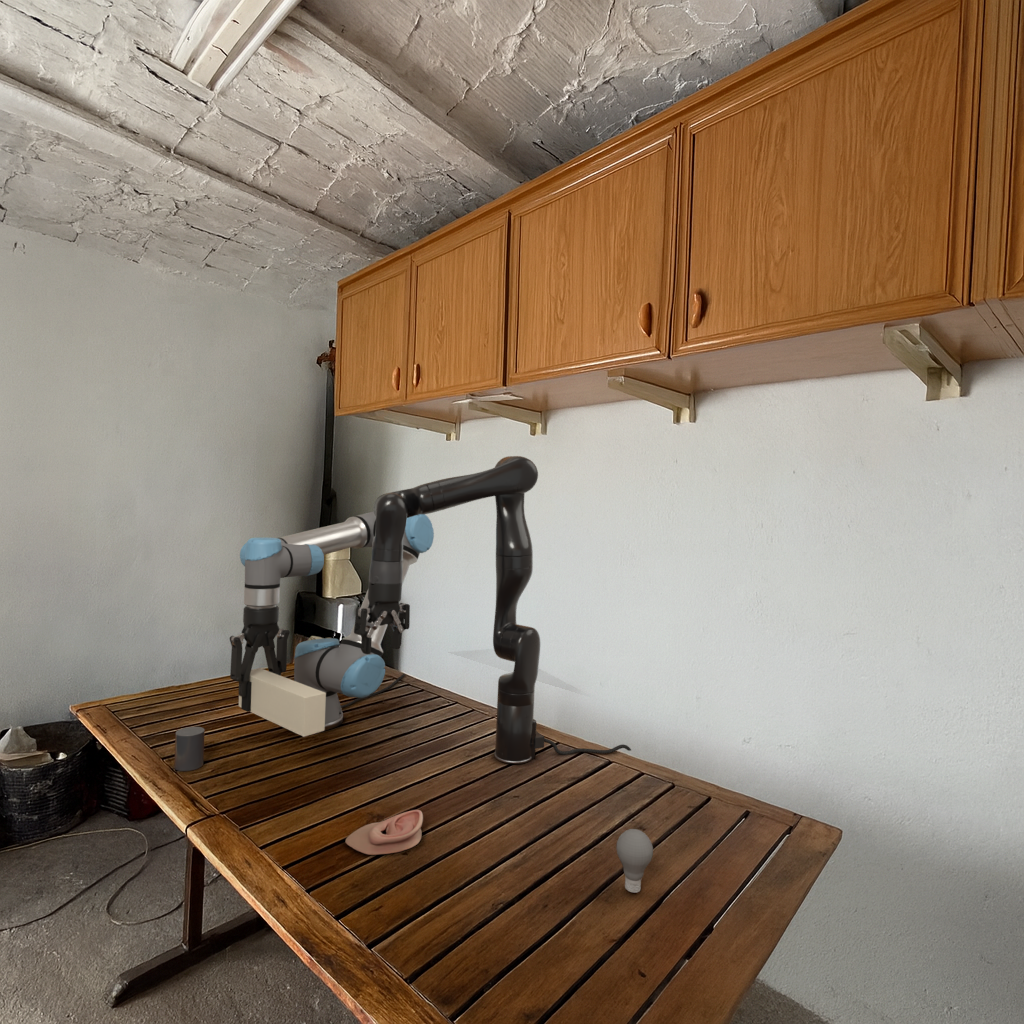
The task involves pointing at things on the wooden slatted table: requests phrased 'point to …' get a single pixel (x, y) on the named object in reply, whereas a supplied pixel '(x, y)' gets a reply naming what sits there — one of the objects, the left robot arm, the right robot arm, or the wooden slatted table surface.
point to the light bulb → (634, 857)
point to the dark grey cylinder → (189, 748)
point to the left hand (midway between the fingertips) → (257, 706)
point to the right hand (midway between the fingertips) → (381, 650)
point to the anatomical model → (388, 834)
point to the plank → (287, 702)
